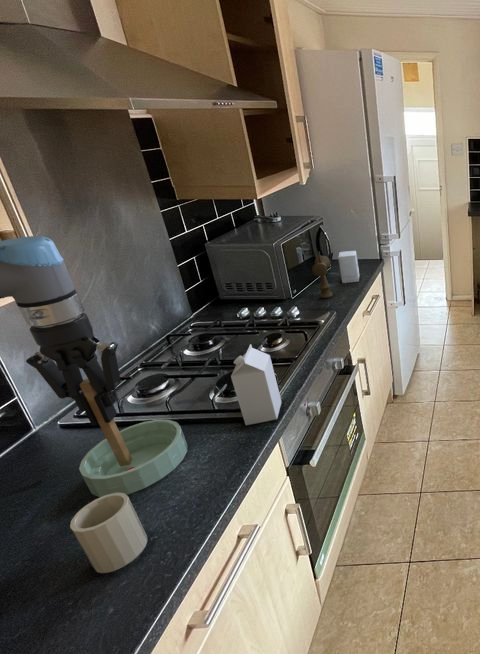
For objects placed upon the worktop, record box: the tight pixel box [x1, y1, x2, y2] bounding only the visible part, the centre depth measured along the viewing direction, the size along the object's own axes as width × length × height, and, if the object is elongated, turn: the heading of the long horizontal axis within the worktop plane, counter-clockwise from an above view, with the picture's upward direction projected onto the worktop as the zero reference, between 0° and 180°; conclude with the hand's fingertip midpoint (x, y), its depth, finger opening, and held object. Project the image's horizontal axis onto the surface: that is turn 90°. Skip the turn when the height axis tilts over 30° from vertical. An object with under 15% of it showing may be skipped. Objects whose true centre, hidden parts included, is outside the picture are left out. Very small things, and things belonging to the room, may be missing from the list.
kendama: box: [311, 251, 334, 299], centre depth 169 cm, size 6×10×20 cm, turn 16°
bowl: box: [78, 419, 188, 498], centre depth 91 cm, size 17×17×6 cm
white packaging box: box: [337, 250, 360, 284], centre depth 187 cm, size 7×7×13 cm
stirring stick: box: [80, 378, 133, 467], centre depth 86 cm, size 2×2×22 cm
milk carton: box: [230, 343, 283, 426], centre depth 104 cm, size 7×7×19 cm
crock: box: [69, 493, 148, 574], centre depth 72 cm, size 7×7×11 cm
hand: (104, 419), depth 86 cm, fingers closed on stirring stick, 2 cm apart
